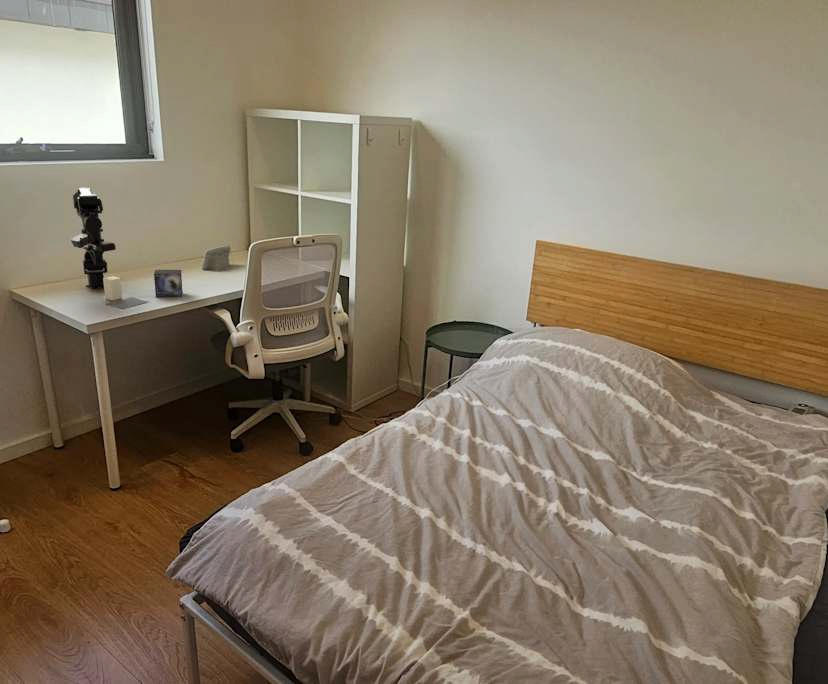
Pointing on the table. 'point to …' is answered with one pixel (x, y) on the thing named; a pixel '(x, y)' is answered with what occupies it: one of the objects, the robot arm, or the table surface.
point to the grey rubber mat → (126, 303)
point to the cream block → (112, 288)
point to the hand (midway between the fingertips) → (96, 264)
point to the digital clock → (216, 258)
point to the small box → (168, 283)
